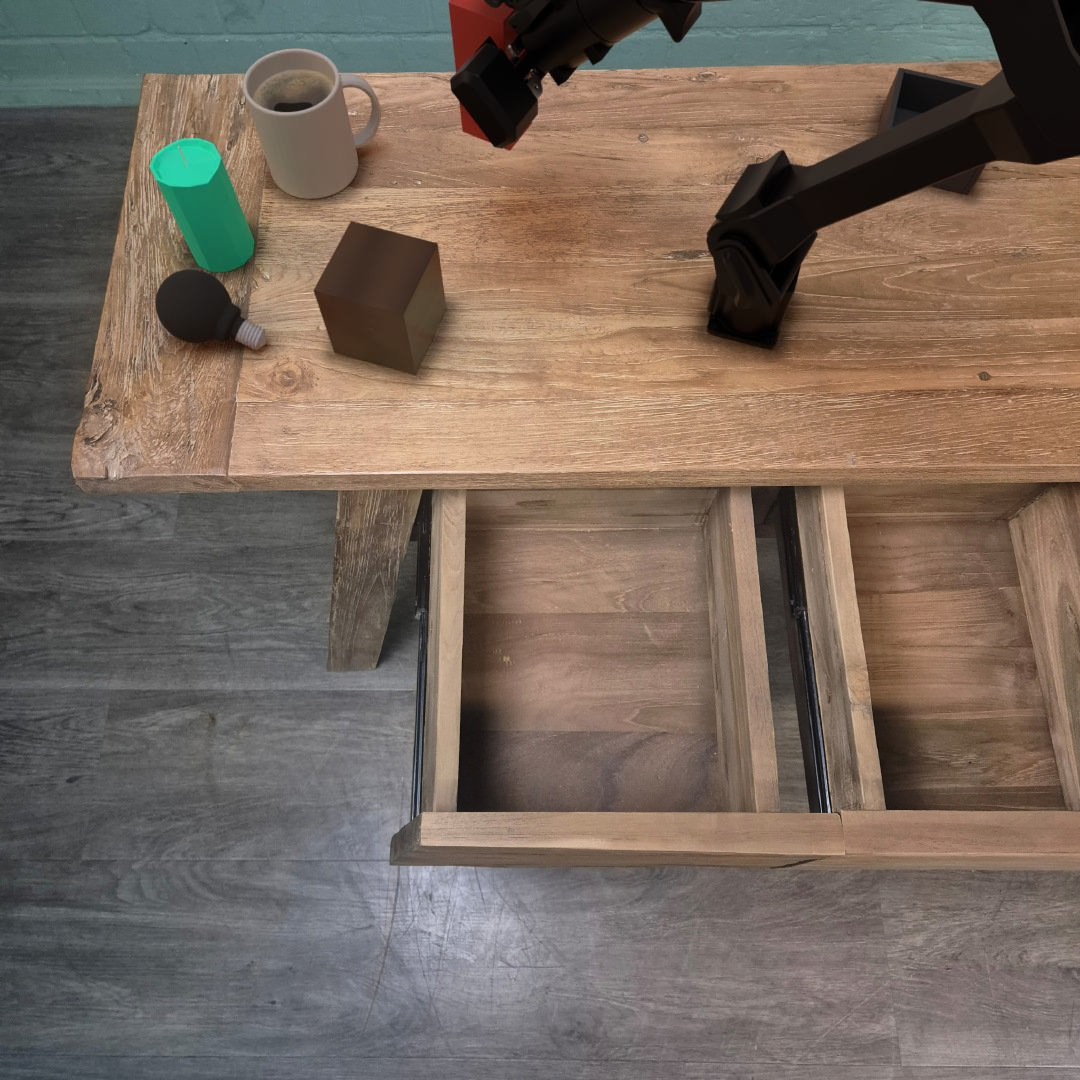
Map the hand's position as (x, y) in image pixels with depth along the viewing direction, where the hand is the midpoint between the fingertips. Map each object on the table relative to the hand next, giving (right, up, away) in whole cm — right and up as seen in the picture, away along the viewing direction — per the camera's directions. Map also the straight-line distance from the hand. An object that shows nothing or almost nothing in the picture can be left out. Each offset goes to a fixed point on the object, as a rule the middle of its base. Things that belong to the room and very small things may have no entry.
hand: (481, 82), depth 76 cm
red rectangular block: (+1, -2, +3) cm, 4 cm away
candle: (-26, -11, +10) cm, 30 cm away
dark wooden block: (-9, -20, +6) cm, 23 cm away
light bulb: (-25, -20, +6) cm, 32 cm away
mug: (-17, -1, +14) cm, 22 cm away
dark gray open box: (+45, +1, +16) cm, 48 cm away
